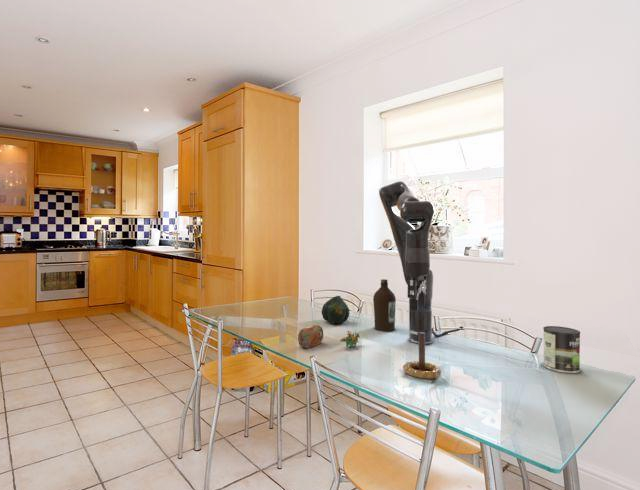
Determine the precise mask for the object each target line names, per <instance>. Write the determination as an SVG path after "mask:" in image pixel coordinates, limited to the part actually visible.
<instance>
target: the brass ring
mask: <svg viewBox="0 0 640 490" xmlns="http://www.w3.org/2000/svg"><path fill="white" fill-rule="evenodd" d="M415 368H417V369H419V361H415V360H414V361H407V362H406V363H405V364H403V365H402V369H403V371H404V373H407V374H406V375H408V374H409V375H408V376H410V377H414V378H417V379H423V380H430V379H433V378H434V379H435V378H437V379H438V378H440V376H442V370H441V368H440V367H439V366H437V365H436V364H433V363H430V362H426V361H425V369H426V370H430V371H419V370H415ZM434 379H433V380H434Z"/></svg>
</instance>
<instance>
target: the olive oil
mask: <svg viewBox="0 0 640 490" xmlns="http://www.w3.org/2000/svg"><path fill="white" fill-rule="evenodd" d="M395 295H396V294H395V292H393V291H392V290H391V289H390V288H389V282H388V279H387V278H383V279H382V278H381V279H380V288H378V289H377V290H376V291H375V292H374V294H373V299H372V300H373V301H372V302H373V316H374V319H373V320H374V328H375V330H376V331H380V332H393V331H395V328H396V306H397V305H396V302H397V300H396V299H397V298H396V296H395Z"/></svg>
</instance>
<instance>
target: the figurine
mask: <svg viewBox="0 0 640 490" xmlns="http://www.w3.org/2000/svg"><path fill="white" fill-rule="evenodd" d="M351 333H352V332H351V330H347V336H346V337H343V338H341V339H340V340H339V342H341V343H343V342H344V343H345V344H346V348H349V349H352V347H353V346H354V348H355V347H356V345H357V343H359V338H361V337H360V333H359V332H354V333H352V334H351Z"/></svg>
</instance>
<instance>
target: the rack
mask: <svg viewBox="0 0 640 490" xmlns="http://www.w3.org/2000/svg"><path fill="white" fill-rule="evenodd" d="M418 362H419V369H417V368H415V370H419V371H430V370H426V369H425V362H426V344H425V333H424V332H419V344H418ZM404 375H408V376H410V375H409V374H407V373H406V372H404ZM437 379H438V378H433V379H429V381H430V380H431V384H433V383H434V382H435V381H436V380H437Z"/></svg>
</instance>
